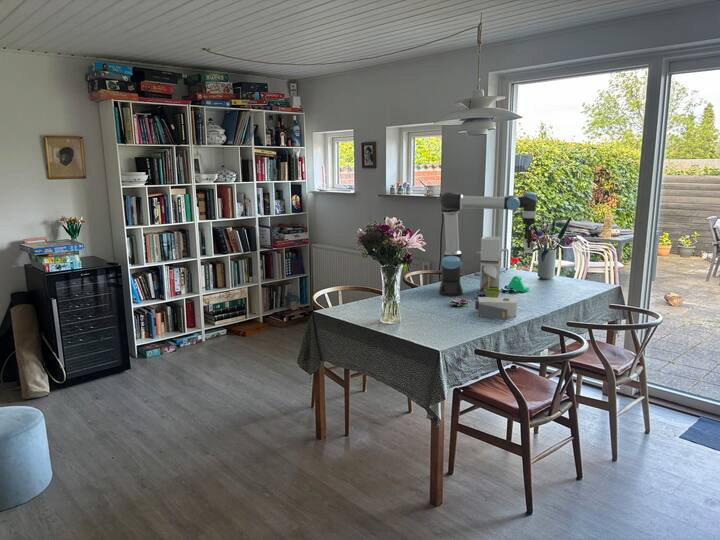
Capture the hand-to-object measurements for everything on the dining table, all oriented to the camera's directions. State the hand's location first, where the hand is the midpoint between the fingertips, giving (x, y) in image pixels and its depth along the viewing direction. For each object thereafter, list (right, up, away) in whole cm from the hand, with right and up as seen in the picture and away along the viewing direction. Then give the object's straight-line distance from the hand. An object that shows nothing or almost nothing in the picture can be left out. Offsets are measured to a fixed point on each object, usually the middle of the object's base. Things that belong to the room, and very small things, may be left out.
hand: (527, 250), depth 343 cm
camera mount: (-2, -26, +11) cm, 28 cm away
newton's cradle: (-8, -15, +62) cm, 64 cm away
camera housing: (-30, -37, -40) cm, 62 cm away
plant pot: (-28, -33, -21) cm, 47 cm away
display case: (-22, -26, +10) cm, 35 cm away
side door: (-34, -38, -50) cm, 72 cm away
